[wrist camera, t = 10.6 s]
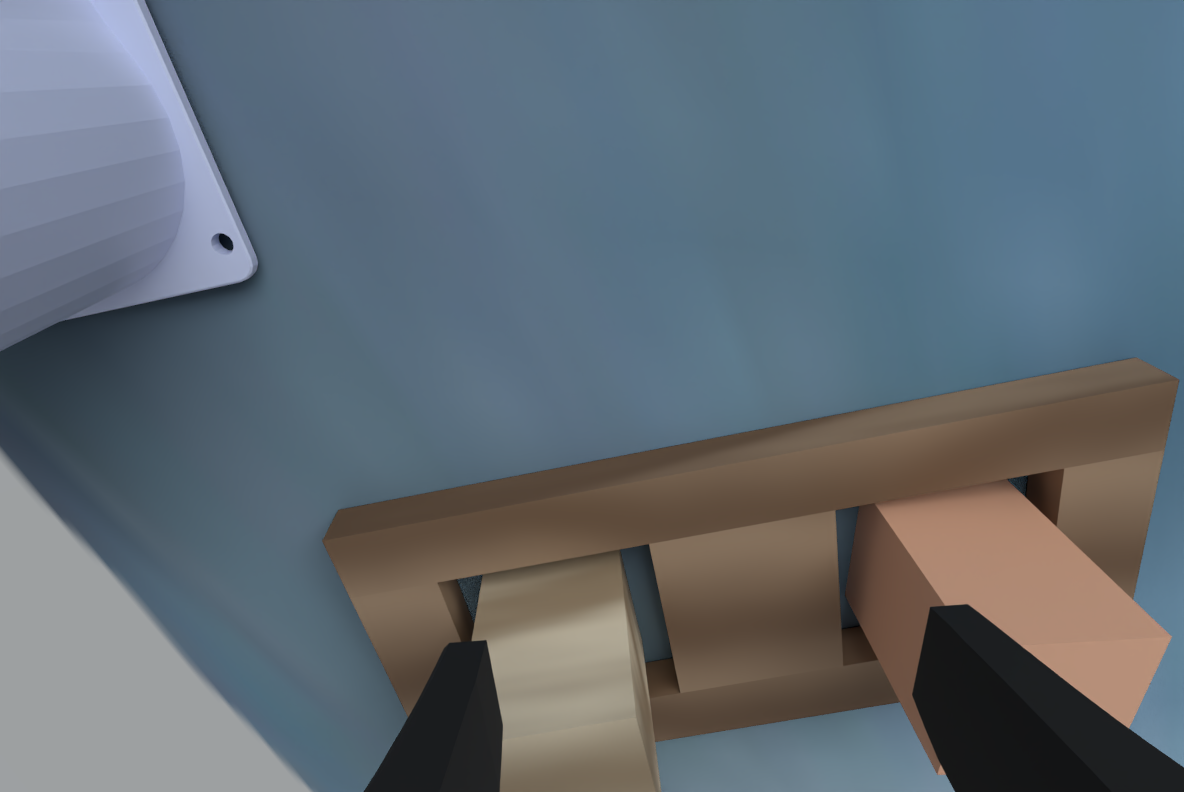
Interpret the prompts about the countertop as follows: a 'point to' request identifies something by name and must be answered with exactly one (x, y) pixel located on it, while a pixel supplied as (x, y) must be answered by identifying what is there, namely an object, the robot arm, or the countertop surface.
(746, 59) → the countertop surface
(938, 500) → the terracotta block
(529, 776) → the maple block
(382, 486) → the countertop surface
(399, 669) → the puzzle board
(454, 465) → the countertop surface
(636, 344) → the countertop surface
